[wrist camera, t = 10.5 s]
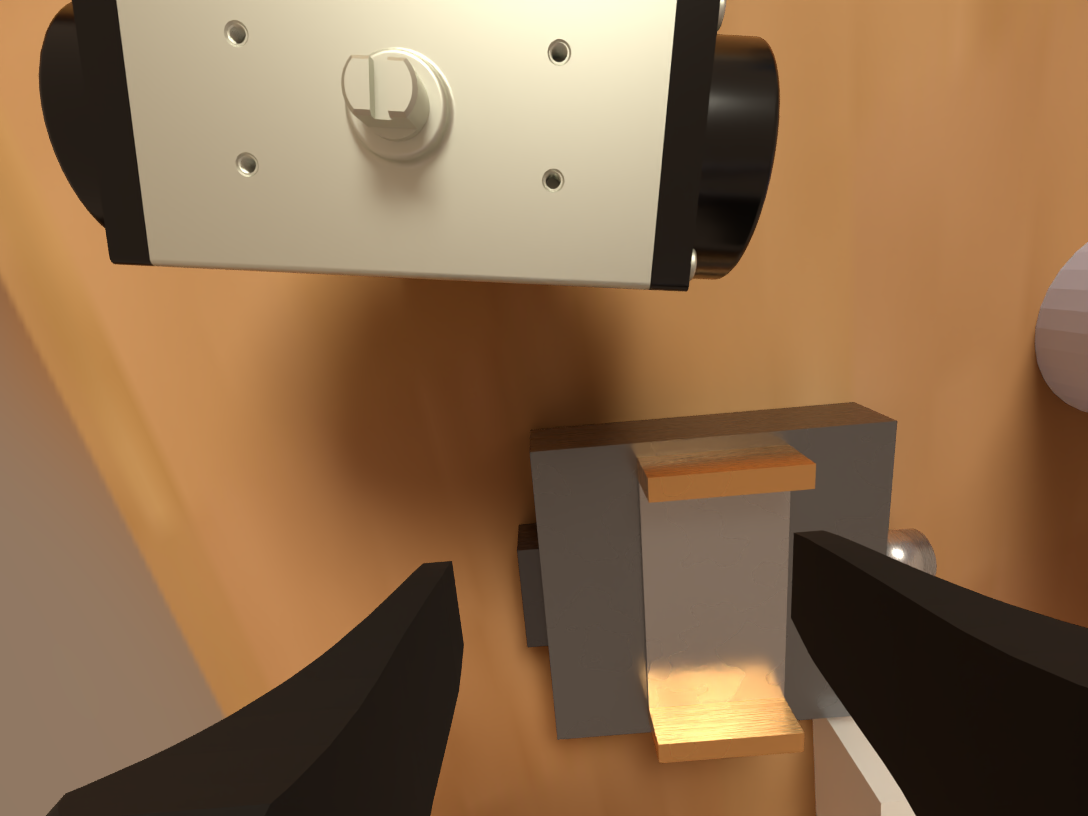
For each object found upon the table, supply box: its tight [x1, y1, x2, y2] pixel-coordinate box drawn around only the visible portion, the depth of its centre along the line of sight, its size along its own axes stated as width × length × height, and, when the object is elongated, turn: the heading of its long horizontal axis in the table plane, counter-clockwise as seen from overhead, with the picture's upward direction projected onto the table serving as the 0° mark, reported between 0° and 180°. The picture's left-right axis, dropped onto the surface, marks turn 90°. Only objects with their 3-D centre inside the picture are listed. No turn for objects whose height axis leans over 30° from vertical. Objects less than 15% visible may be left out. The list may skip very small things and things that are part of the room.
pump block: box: [813, 716, 916, 816], centre depth 22 cm, size 4×7×5 cm, turn 9°
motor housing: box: [517, 402, 937, 763], centre depth 20 cm, size 15×12×4 cm
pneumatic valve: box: [39, 0, 780, 291], centre depth 12 cm, size 6×12×12 cm, turn 87°
